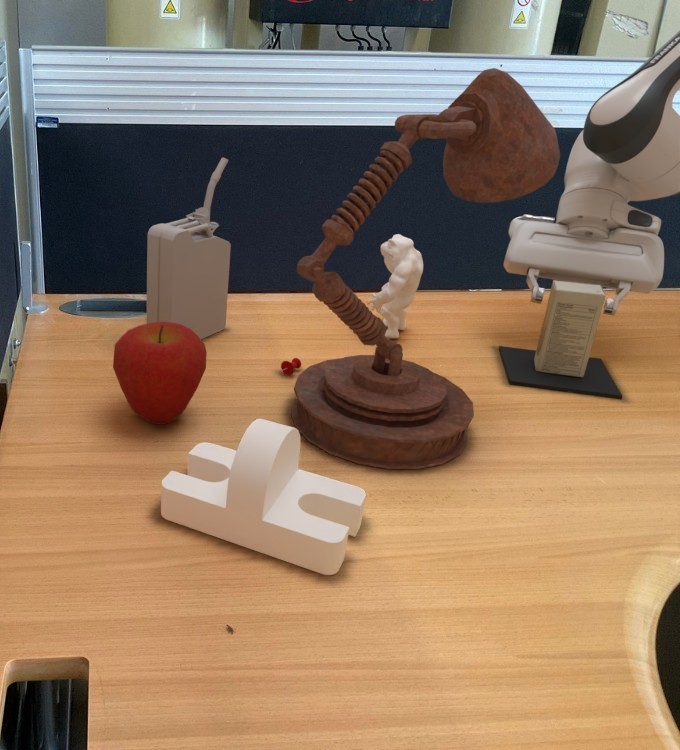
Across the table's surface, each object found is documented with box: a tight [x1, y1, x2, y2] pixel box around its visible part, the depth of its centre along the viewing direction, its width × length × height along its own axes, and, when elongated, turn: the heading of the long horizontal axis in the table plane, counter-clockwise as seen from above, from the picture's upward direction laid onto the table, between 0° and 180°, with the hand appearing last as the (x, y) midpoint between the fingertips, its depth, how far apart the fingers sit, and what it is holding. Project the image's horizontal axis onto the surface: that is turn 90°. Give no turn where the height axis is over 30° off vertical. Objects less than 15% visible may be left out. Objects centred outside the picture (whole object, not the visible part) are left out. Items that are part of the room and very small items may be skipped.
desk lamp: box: [290, 67, 561, 470], centre depth 84 cm, size 21×32×40 cm, turn 119°
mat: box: [498, 345, 623, 400], centre depth 106 cm, size 14×12×1 cm
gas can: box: [145, 157, 232, 340], centre depth 109 cm, size 15×5×25 cm, turn 138°
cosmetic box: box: [534, 279, 606, 377], centre depth 104 cm, size 6×4×12 cm
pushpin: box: [279, 357, 302, 376], centre depth 103 cm, size 4×2×2 cm, turn 138°
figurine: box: [366, 233, 424, 339], centre depth 114 cm, size 11×7×15 cm, turn 150°
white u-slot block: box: [160, 417, 367, 576], centre depth 72 cm, size 10×18×10 cm, turn 63°
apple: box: [112, 322, 208, 425], centre depth 89 cm, size 11×11×12 cm
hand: (572, 307), depth 107 cm, fingers open, 8 cm apart
